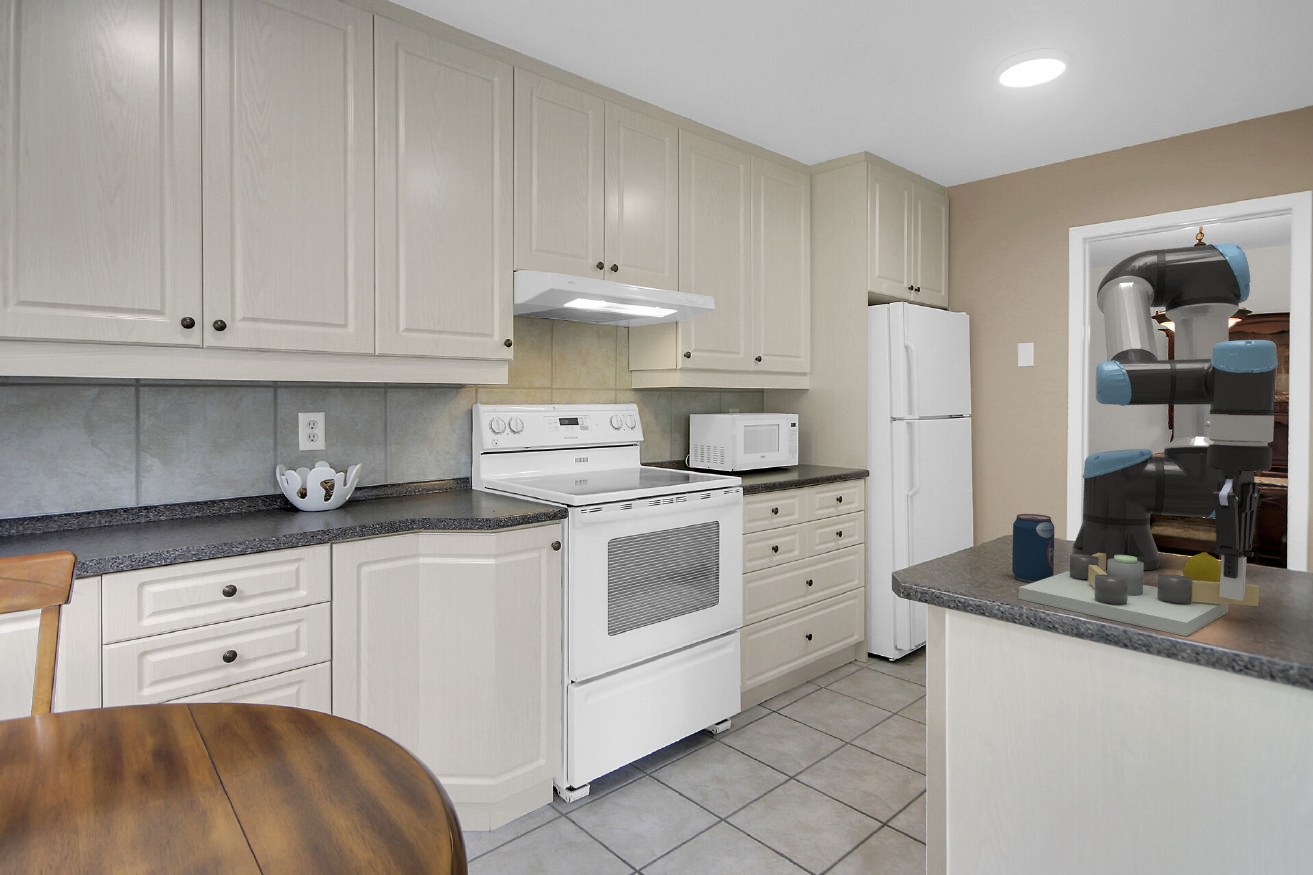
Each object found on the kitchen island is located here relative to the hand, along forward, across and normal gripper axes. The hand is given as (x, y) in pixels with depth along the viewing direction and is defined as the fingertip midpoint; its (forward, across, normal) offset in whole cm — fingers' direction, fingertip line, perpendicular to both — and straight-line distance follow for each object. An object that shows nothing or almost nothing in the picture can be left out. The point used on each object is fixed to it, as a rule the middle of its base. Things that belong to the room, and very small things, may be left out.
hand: (1231, 597), depth 108 cm
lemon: (+4, -11, -7) cm, 13 cm away
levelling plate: (+4, +4, -14) cm, 15 cm away
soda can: (+4, -2, -31) cm, 31 cm away
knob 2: (+1, 0, -3) cm, 3 cm away
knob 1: (+1, -5, -22) cm, 22 cm away
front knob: (+2, +7, -15) cm, 17 cm away
